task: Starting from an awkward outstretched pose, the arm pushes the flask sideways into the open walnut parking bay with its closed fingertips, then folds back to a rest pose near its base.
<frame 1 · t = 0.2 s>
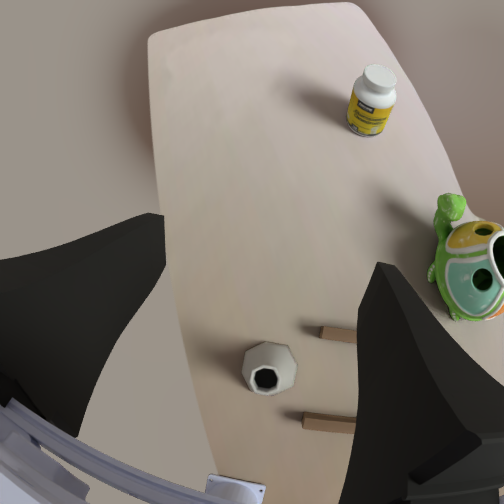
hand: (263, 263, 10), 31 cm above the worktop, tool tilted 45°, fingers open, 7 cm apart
pill bottle: (364, 123, 46), on the worktop
flask: (269, 368, 39), on the worktop
parking bay: (352, 380, 37), on the worktop
turtle holder: (456, 270, 39), on the worktop
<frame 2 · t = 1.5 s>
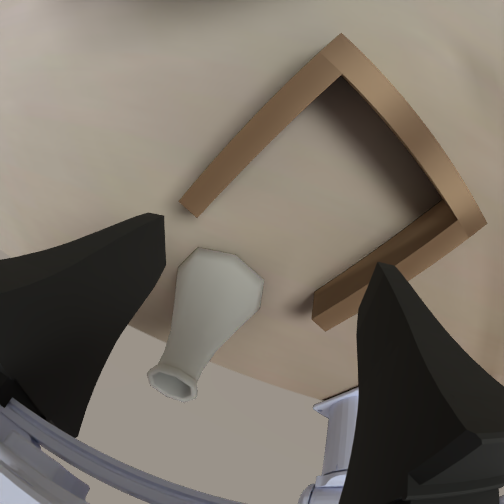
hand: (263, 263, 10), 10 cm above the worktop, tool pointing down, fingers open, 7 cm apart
flask: (220, 284, 25), on the worktop
parking bay: (325, 198, 19), on the worktop
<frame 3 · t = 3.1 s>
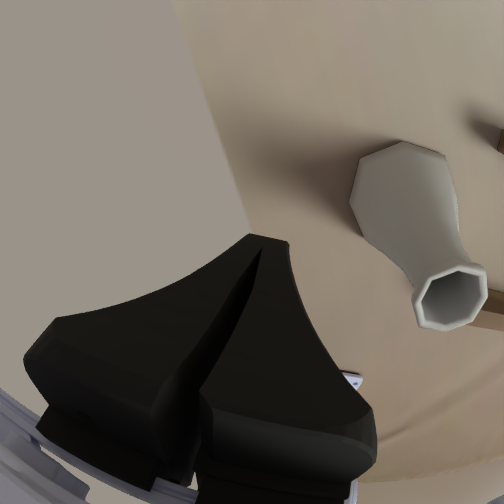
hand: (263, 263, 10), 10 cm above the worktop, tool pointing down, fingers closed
flask: (403, 196, 18), on the worktop
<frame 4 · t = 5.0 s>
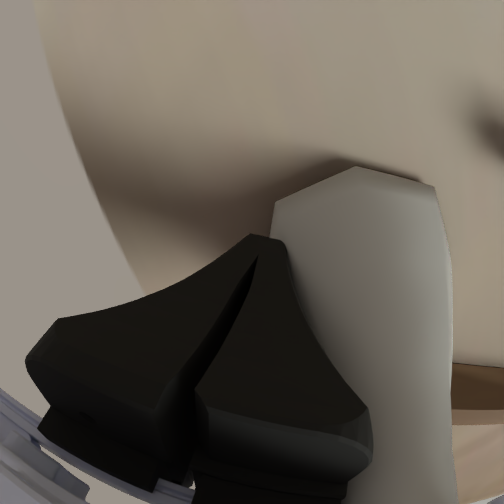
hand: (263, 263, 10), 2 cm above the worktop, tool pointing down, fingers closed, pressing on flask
flask: (359, 255, 11), on the worktop, touching gripper
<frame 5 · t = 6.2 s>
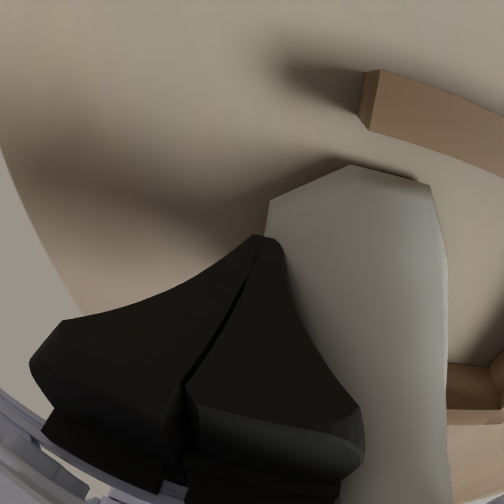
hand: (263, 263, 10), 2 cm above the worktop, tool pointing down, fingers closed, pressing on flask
flask: (354, 254, 11), on the worktop, touching gripper
parking bay: (450, 277, 11), on the worktop
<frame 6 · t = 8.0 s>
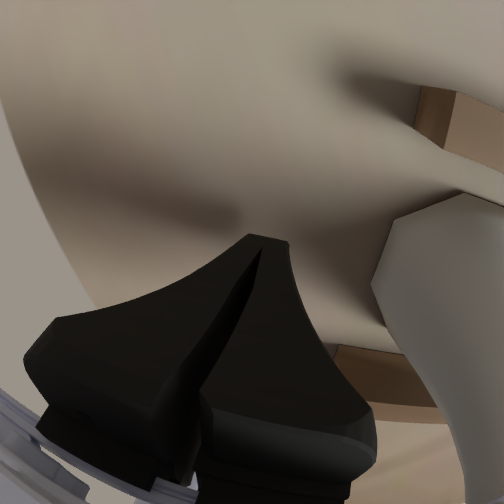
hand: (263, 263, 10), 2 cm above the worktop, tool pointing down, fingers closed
flask: (451, 271, 11), on the worktop
parking bay: (486, 283, 11), on the worktop
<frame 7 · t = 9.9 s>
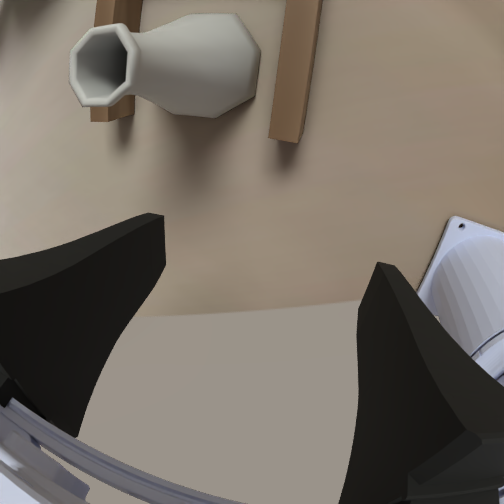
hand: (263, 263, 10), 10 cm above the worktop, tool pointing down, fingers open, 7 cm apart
flask: (205, 64, 17), on the worktop
parking bay: (207, 35, 16), on the worktop
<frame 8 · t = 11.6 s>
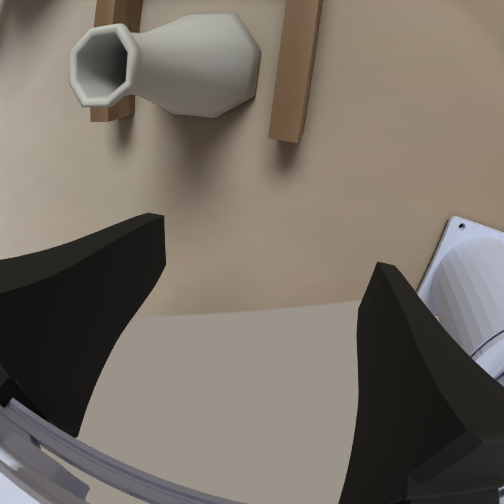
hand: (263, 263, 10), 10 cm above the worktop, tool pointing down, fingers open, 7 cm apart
flask: (205, 64, 17), on the worktop
parking bay: (207, 35, 16), on the worktop
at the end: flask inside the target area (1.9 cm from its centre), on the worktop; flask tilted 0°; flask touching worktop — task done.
